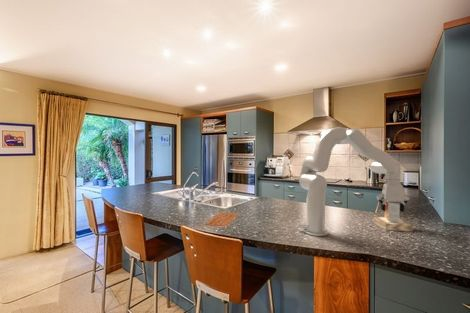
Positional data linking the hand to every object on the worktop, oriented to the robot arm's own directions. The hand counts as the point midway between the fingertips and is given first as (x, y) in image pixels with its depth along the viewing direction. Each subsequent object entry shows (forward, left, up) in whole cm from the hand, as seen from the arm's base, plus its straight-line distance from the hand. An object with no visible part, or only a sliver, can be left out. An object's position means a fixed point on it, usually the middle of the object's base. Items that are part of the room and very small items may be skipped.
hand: (392, 211), depth 130 cm
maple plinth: (0, 0, -9) cm, 9 cm away
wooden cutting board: (-102, 0, -10) cm, 103 cm away
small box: (0, 0, -6) cm, 6 cm away
